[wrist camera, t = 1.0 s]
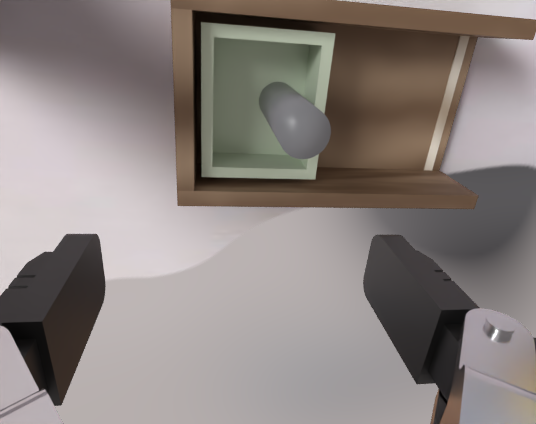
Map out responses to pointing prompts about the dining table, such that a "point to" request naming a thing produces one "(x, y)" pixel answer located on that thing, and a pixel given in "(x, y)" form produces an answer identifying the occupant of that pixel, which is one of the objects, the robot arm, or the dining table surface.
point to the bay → (347, 102)
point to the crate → (263, 101)
